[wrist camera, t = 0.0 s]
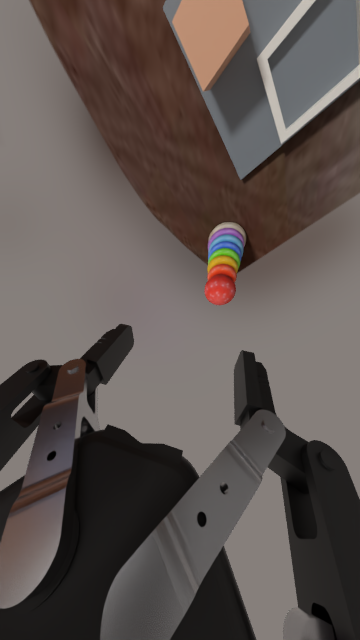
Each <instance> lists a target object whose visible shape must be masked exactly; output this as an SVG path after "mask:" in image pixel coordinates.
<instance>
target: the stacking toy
mask: <svg viewBox="0 0 360 640" xmlns="http://www.w3.org/2000/svg"><path fill="white" fill-rule="evenodd" d="M245 244H246V234H245V231H244V230H243V228H242V227H241V226H240V225H238V224H236V223H233V222H226V223H222V224H220V225H218V226H217V227H215V228H214V230H213V231H212V232H211V234H210V236H209V242H208V254H209V255H208V282H207V283H206V286H205V295H206V298H207V299H208V300H209V302H211V303H213V304H215V305H224V304H226V303H228V302H230V301H231V300H232V299H233V297H234V295H235V292H236V288H235V281H236V277H237V275H236V274H237V271H238V268H239V266H240V261H241V257H242V255H243V249H244V246H245Z"/></svg>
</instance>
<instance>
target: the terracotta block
mask: <svg viewBox="0 0 360 640" xmlns="http://www.w3.org/2000/svg"><path fill="white" fill-rule="evenodd" d="M172 23H173V25H174V28H175V30H176V32H177V34H178V37H179V39H180V41H181V43H182V46H183V48H184V50H185V52H186V54H187V57H188V59H189V61H190V63H191V66H192V68H193V70H194V72H195V75H196V77H197V79H198V81H199V83H200V86H201V88H202V90H203V92H204V91H207V90H210V89H211V88H212V86H213V85H214V84H215V82H216V81H217V79H218V78H219V77H220V75H221V74H222V72H223V71H224V69H225V68H226V67H227V65H228V64H229V62H230V61H231V59H232V58H233V57H234V55H235V54H236V52H237V51H238V49H239V48H240V47H241V45H242V44H243V42H244V41H245V39H246V38H247V37H248V35H249V34H250V27H249V22H248V19H247V15H246V12H245V8H244V5H243V1H242V0H182V1H181V3H180V5H179V7H178V9H177V12H176V14H175V16H174V18H173V21H172Z"/></svg>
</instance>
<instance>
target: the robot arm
mask: <svg viewBox="0 0 360 640" xmlns="http://www.w3.org/2000/svg"><path fill="white" fill-rule="evenodd" d="M133 344H134V339H133V333H132V327H131V326H129V325H124V324H119V325H118V326H117V327H116V329H112V330H110V331H108V332H106V334H104V335H103V336H102V337H101V339H99V340H98V341H97V343H95V344H94V345H93V346H92V347H91V348H90V349H89V350H88V351H87V352H86V353H85V354H84V355H83V356H82V357H81V358H80V359H73V360H70V361H68V362H66V363H65V364H64V365H53V366H49V364H48V363H47V362H46V361H45V360H35V361H32V362H30V363H28V364H26V365H25V366H23V367H22V368H21V369H19V370H18V371H17V372H16V373H14V374H13V375H12V376H11V377H9V378H8V379H7V380H6V381H5V382H3V383H2V384H1V385H0V471H1V469H2V468H3V467H4V466H5V465H6V463H7V462H8V461H9V460H10V459H11V457H12V456H13V455H14V454H15V452H16V451H17V450H18V449H19V448H20V447H21V445H22V444H23V443H24V442H25V440H26V439H27V438H28V437H29V436H30V434H31V433H32V432H33V431H34V430H35V429H36V427H37V426H38V429H37V433H36V437H35V440H34V444H33V448H32V451H31V456H30V459H29V463H28V467H27V470H26V474H25V475H24V476H23V477H21V478H20V479H18V480H17V481H15V482H14V483H12V484H11V485H9V486H8V487H6V488H5V489H4V490H2V491H0V640H256V637H255V634H254V632H253V629H252V626H251V623H250V620H249V617H248V614H247V612H246V609H245V606H244V603H243V600H242V597H241V594H240V591H239V588H238V585H237V583H236V580H235V577H234V574H233V571H232V568H231V565H230V562H229V559H228V557H227V554H226V551H225V548H224V544H225V542H226V540H227V539H228V537H229V535H230V534H231V532H232V530H233V529H234V527H235V525H236V524H237V522H238V520H239V519H240V517H241V515H242V514H243V512H244V510H245V509H246V507H247V505H248V504H249V502H250V500H251V499H252V497H253V495H254V494H255V492H256V491H257V489H258V487H259V485H260V483H261V481H262V475H263V473H264V471H265V470H266V468H267V467H268V468H269V469H271V470H272V471H274V472H275V473H276V474H278V475H279V476H280V477H281V483H282V491H283V498H284V506H285V513H286V521H287V528H288V535H289V543H290V550H291V557H292V565H293V572H294V579H295V587H296V594H297V600H298V608H292V609H291V610H289V612H288V613H287V615H286V617H285V621H284V628H283V629H284V630H283V639H284V640H360V499H359V497H358V495H357V492H356V490H355V487H354V484H353V482H352V479H351V477H350V474H349V472H348V469H347V467H346V465H345V463H344V461H343V460H342V458H341V457H340V456H339V455H338V454H337V452H336V451H335V450H333V449H332V448H331V447H330V446H328V445H327V444H325V443H323V442H321V441H317V440H313V441H310V442H307V441H306V440H304V439H302V438H301V437H299V436H297V435H296V434H294V433H292V432H291V431H289V430H288V429H287V428H286V427H285V426H284V425H283V423H282V422H281V420H280V419H279V418H278V417H277V415H276V413H275V409H274V405H273V400H272V395H271V390H270V386H269V382H268V377H267V372H266V369H265V368H264V366H263V365H262V363H260V362H256V361H255V355H254V353H252V352H247V351H243V350H242V351H241V352H240V355H239V357H238V360H237V362H236V365H235V369H234V408H235V424H236V425H239V426H240V427H241V430H240V431H239V433H238V434H237V435H236V436H235V437H234V439H233V440H232V441H230V443H228V445H227V446H226V447H225V448H224V449H223V450H222V452H221V453H220V454H219V455H218V456H217V457H216V459H215V460H214V461H213V463H211V464H210V466H209V467H208V468H207V469H206V470H205V471H204V473H203V474H202V475H201V476H200V477H199V475H198V474H197V472H196V470H195V469H194V467H193V466H192V465H191V463H190V462H189V461H188V460H187V459H185V458H184V457H183V456H182V452H183V451H182V450H179V449H177V448H174V447H171V446H168V445H165V444H143V443H140V442H139V441H137V440H136V439H135V438H134V437H132V436H131V435H130V434H129V433H127V432H126V431H125V430H122V429H119V428H116V427H114V426H111V425H107V427H106V428H105V430H100V428H99V422H98V417H97V394H98V392H97V386H98V385H99V384H100V383H102V384H105V385H106V384H107V383H108V381H109V380H110V378H111V377H112V376H113V374H114V373H115V371H116V370H117V369H118V367H119V366H120V364H121V363H122V361H123V360H124V359H125V357H126V356H127V355H128V353H129V352H130V350H131V349H132V347H133ZM31 392H32V393H33V394H34V395H33V396H32V398H30V399H29V400H28V401H27V402H26V403H25V404H24V405H23V407H22V408H21V409H20V410H19V411H18V412H17V413H16V414H15V415H14V416H13V417H12V418H11V414H12V412H13V410H14V409H15V408H16V407H17V406H18V405H19V404H20V403H21V402H22V401H23V400H24V399H25V398H26V397H27V396H28V395H29V394H30V393H31Z"/></svg>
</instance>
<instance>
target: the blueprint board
mask: <svg viewBox="0 0 360 640" xmlns="http://www.w3.org/2000/svg"><path fill="white" fill-rule="evenodd" d="M181 1H182V0H166V2H165V4H164V6H163V10H164V12H165V14H166V16H167V19H168V21H169V23H170V25H171V27H172V30H173V32H174V34H175V36H176V38H177V41H178V43H179V45H180V47H181V49H182V52H183V54H184V56H185V58H186V60H187V63H188V65H189V67H190V69H191V72H192V74H193V76H194V78H195V80H196V83H197V85H198V87H199V89H200V91H201V94H202V96H203V98H204V100H205V102H206V105H207V107H208V109H209V111H210V113H211V116H212V118H213V120H214V122H215V124H216V127H217V129H218V131H219V133H220V135H221V138H222V140H223V142H224V144H225V146H226V149H227V151H228V153H229V155H230V157H231V160H232V162H233V164H234V166H235V168H236V171H237V173H238V175H239V177H240V179H242V178H244V177H245V176H246V175H247V174H248V173H250V172H251V171H252V170H253V169H254V168H256V167H257V166H258V165H259V164H260V163H262V162H263V161H264V160H265V159H266V158H268V157H269V156H270V155H271V154H272V153H273V152H275V151H276V150H277V149H278V148H279V147H281V146H282V145H283V144H284V143H285V142H287V141H288V140H289V139H290V138H291V137H293V136H294V135H295V134H296V133H297V132H299V131H300V130H301V129H302V128H303V127H305V126H306V125H307V124H308V123H309V122H311V121H312V120H313V119H314V118H315V117H317V116H318V115H319V114H320V113H321V112H322V111H324V110H325V109H326V108H327V107H328V106H330V105H331V104H332V103H333V102H334V101H336V100H337V99H338V98H339V97H340V96H342V95H343V94H344V93H345V92H346V91H348V90H349V89H350V88H351V87H352V86H354V85H355V84H356V83H357V82H358V81H360V0H242V1H243V5H244V8H245V12H246V15H247V19H248V22H249V27H250V34H249V35H248V37H247V38H246V39H245V41H244V42H243V44H242V45H241V47H240V48H239V49H238V51H237V52H236V54H235V55H234V57H233V58H232V59H231V61H230V62H229V64H228V65H227V67H226V68H225V69H224V71H223V72H222V74H221V75H220V77H219V78H218V79H217V81H216V82H215V84H214V85H213V86H212V88H211V89H210V90H207V91H204V92H203V90H202V88H201V86H200V83H199V81H198V79H197V77H196V75H195V72H194V70H193V68H192V66H191V63H190V61H189V59H188V57H187V54H186V52H185V50H184V48H183V46H182V43H181V41H180V39H179V37H178V34H177V32H176V30H175V28H174V25H173V23H172V21H173V18H174V16H175V14H176V12H177V9H178V7H179V5H180V3H181Z"/></svg>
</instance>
